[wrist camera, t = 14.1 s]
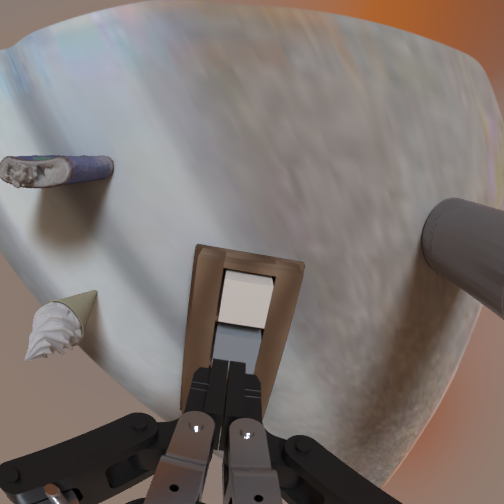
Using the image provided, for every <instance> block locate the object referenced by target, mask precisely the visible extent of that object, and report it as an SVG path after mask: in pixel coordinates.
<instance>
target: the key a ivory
mask: <svg viewBox="0 0 504 504" xmlns="http://www.w3.org/2000/svg"><path fill="white" fill-rule="evenodd" d="M273 287H274V286H273V280H272V276H270V275H264V274H258V273H252V272H246V271H240V270H234V269H228V268H227V271H226V276H225V281H224V287H223V293H222V300H221V306H220V313H219V319H218V321H219V322H225V323H232V324H238V325H244V326H251V327H257V328H264V327H265V323H266V318H267V314H268V310H269V305H270V301H271V296H272V292H273Z"/></svg>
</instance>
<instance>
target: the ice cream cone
mask: <svg viewBox="0 0 504 504" xmlns="http://www.w3.org/2000/svg"><path fill="white" fill-rule="evenodd" d="M96 295H97V291H96V290H93V291H89V292H85V293H81V294H78V295H74V296H71V297H67V298H64V299H60V300H52V301H49V302H47V303H46V304H45V306H43V307H41V308H40V309H39V310H38V311H37V312H36V314H35V315H34V320H33V326H32V329H33V332H32V333H31V334H30V336H29V347H28V351H27V354H26V357H25V362H26V361H29V360H32V359H36V358H41V357H45V358H47V354H51V355H52V354H53V353H54V351H58V352H59V353H60V354H65V352H64V350H63V349H64V348H68V349H70V350H72V349H73V347H72V346H75V345H78V344H79V343H80V342H81V341H82V339H83V334H84V329H85V326H86V323H87V320H88V317H89V314H90V311H91V309H92V306H93V303H94V300H95V297H96Z"/></svg>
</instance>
